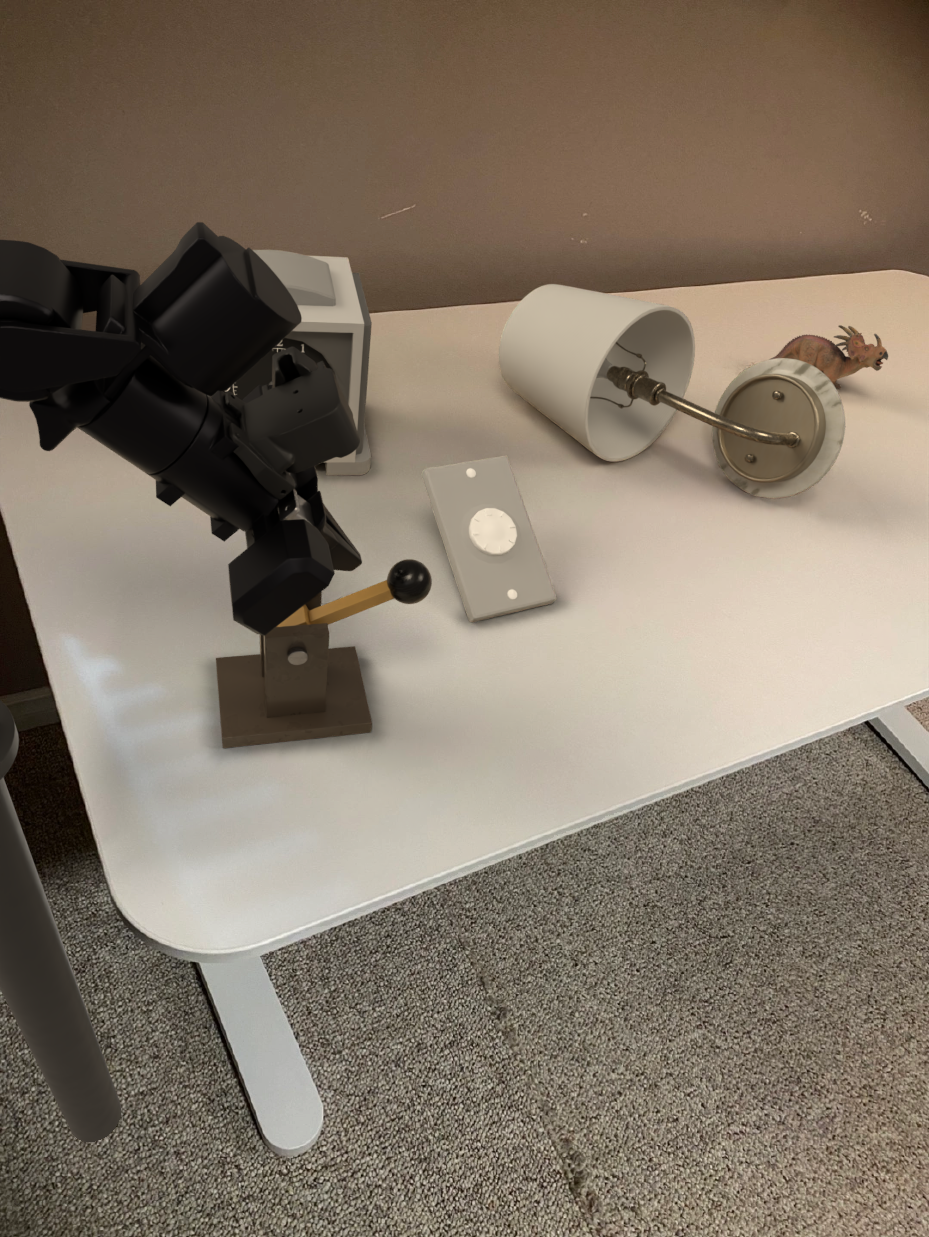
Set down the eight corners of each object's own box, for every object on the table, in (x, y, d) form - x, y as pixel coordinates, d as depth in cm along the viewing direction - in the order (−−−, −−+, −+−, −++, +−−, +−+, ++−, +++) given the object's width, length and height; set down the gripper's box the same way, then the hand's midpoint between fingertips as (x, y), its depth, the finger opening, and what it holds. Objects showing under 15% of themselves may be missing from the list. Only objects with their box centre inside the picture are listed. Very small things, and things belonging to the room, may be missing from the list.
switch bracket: (354, 655, 76) (361, 567, 69) (371, 732, 71) (380, 644, 64) (216, 667, 73) (209, 576, 67) (222, 748, 68) (215, 658, 61)
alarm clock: (181, 476, 90) (165, 296, 77) (183, 401, 99) (168, 229, 86) (371, 475, 94) (385, 304, 81) (356, 403, 103) (366, 239, 90)
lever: (432, 572, 68) (418, 543, 66) (442, 603, 66) (427, 574, 64) (282, 632, 69) (263, 605, 67) (287, 664, 67) (267, 637, 64)
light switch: (477, 616, 79) (426, 463, 82) (455, 635, 84) (408, 491, 87) (562, 596, 82) (511, 449, 85) (536, 615, 88) (489, 477, 91)
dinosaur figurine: (859, 389, 121) (891, 324, 115) (861, 412, 117) (895, 345, 111) (756, 363, 123) (782, 297, 116) (754, 384, 119) (781, 317, 112)
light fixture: (709, 542, 84) (465, 407, 103) (802, 531, 97) (570, 413, 117) (788, 360, 77) (510, 252, 96) (877, 375, 90) (617, 277, 110)
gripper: (293, 440, 44) (482, 590, 55) (258, 264, 57) (417, 414, 67) (139, 573, 48) (344, 690, 58) (138, 379, 60) (307, 505, 71)
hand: (356, 563), depth 64 cm, fingers closed
